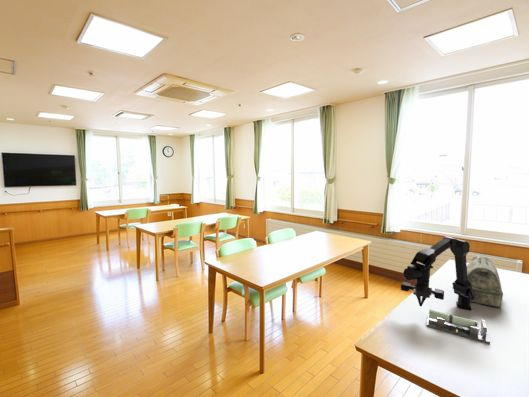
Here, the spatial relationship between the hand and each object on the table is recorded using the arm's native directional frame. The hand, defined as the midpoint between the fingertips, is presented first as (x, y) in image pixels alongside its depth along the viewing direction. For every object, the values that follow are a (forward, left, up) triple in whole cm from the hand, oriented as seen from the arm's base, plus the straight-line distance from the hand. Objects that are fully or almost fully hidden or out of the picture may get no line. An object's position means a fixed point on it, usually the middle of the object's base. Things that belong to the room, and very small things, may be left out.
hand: (420, 306), depth 139 cm
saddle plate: (0, +15, -7) cm, 17 cm away
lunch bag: (-47, +28, -7) cm, 55 cm away
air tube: (0, +13, -3) cm, 13 cm away
